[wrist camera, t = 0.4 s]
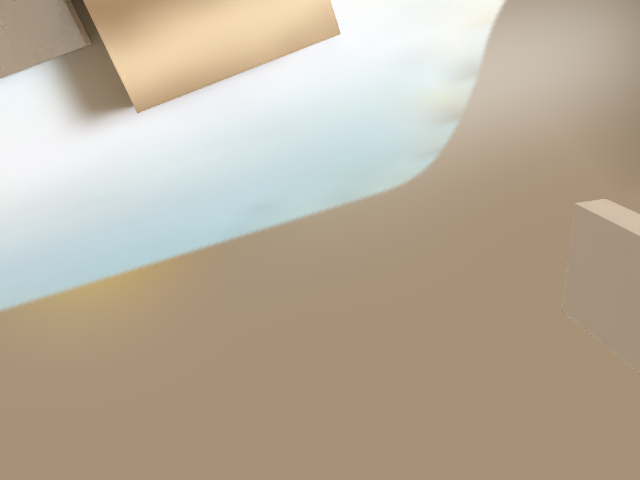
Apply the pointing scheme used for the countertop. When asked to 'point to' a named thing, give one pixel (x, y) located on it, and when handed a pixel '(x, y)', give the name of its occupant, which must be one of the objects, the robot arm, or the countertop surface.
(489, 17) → the countertop surface
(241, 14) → the pedestal
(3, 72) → the beige panel with cutout
